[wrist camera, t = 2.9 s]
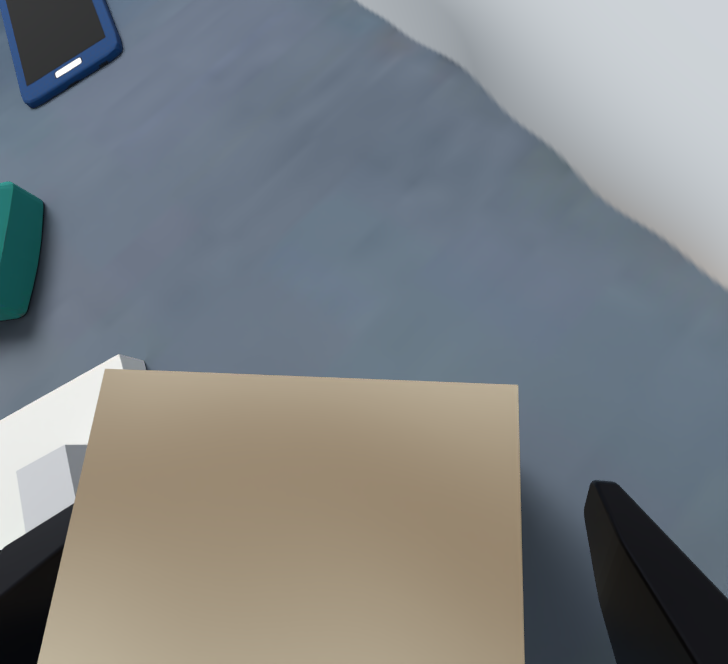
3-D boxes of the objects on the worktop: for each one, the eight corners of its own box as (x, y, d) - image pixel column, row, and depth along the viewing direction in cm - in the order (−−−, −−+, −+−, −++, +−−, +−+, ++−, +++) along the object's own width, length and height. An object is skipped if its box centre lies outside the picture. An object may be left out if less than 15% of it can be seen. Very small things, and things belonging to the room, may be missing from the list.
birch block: (472, 575, 14) (534, 1096, 3) (334, 556, 15) (-11, 873, 4) (473, 427, 15) (518, 384, 4) (345, 419, 17) (105, 367, 5)
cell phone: (34, 116, 26) (23, 107, 26) (3, -7, 31) (-7, -17, 30) (130, 57, 26) (120, 46, 25) (84, -59, 30) (75, -71, 30)
